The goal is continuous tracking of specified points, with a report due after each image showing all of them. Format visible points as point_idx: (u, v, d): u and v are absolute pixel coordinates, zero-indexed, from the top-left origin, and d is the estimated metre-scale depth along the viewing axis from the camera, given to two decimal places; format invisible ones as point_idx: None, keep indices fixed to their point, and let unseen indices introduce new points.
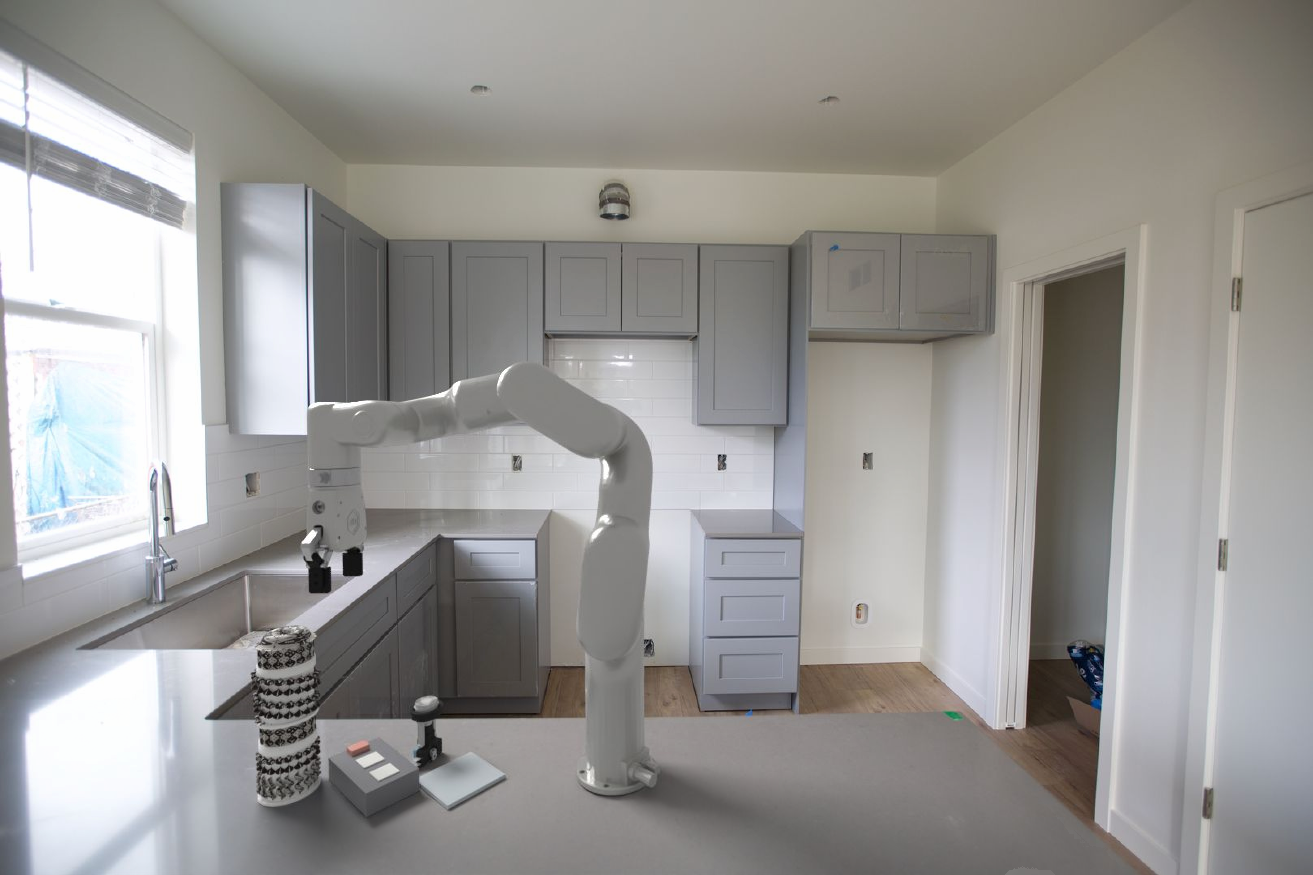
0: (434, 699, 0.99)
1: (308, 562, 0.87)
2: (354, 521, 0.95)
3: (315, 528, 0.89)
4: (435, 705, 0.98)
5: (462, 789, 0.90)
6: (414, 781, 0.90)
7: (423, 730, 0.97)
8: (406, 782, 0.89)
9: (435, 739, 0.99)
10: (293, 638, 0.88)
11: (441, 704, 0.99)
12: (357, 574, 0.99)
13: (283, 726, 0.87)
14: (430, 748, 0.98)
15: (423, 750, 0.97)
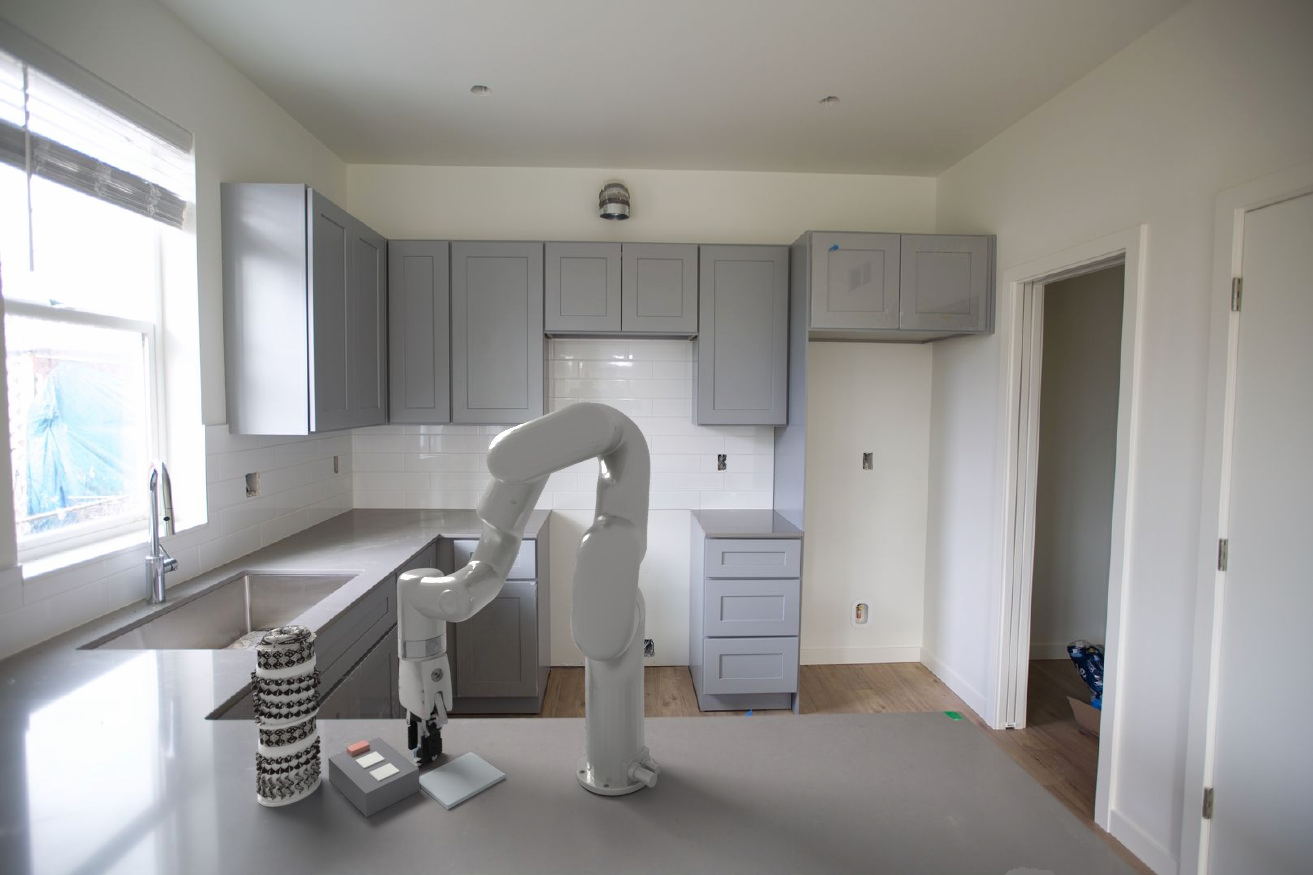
0: None
1: (434, 730, 0.95)
2: None
3: (436, 700, 0.95)
4: None
5: (462, 789, 0.90)
6: (414, 781, 0.90)
7: None
8: (406, 782, 0.89)
9: None
10: (293, 638, 0.88)
11: None
12: None
13: (283, 726, 0.87)
14: None
15: None
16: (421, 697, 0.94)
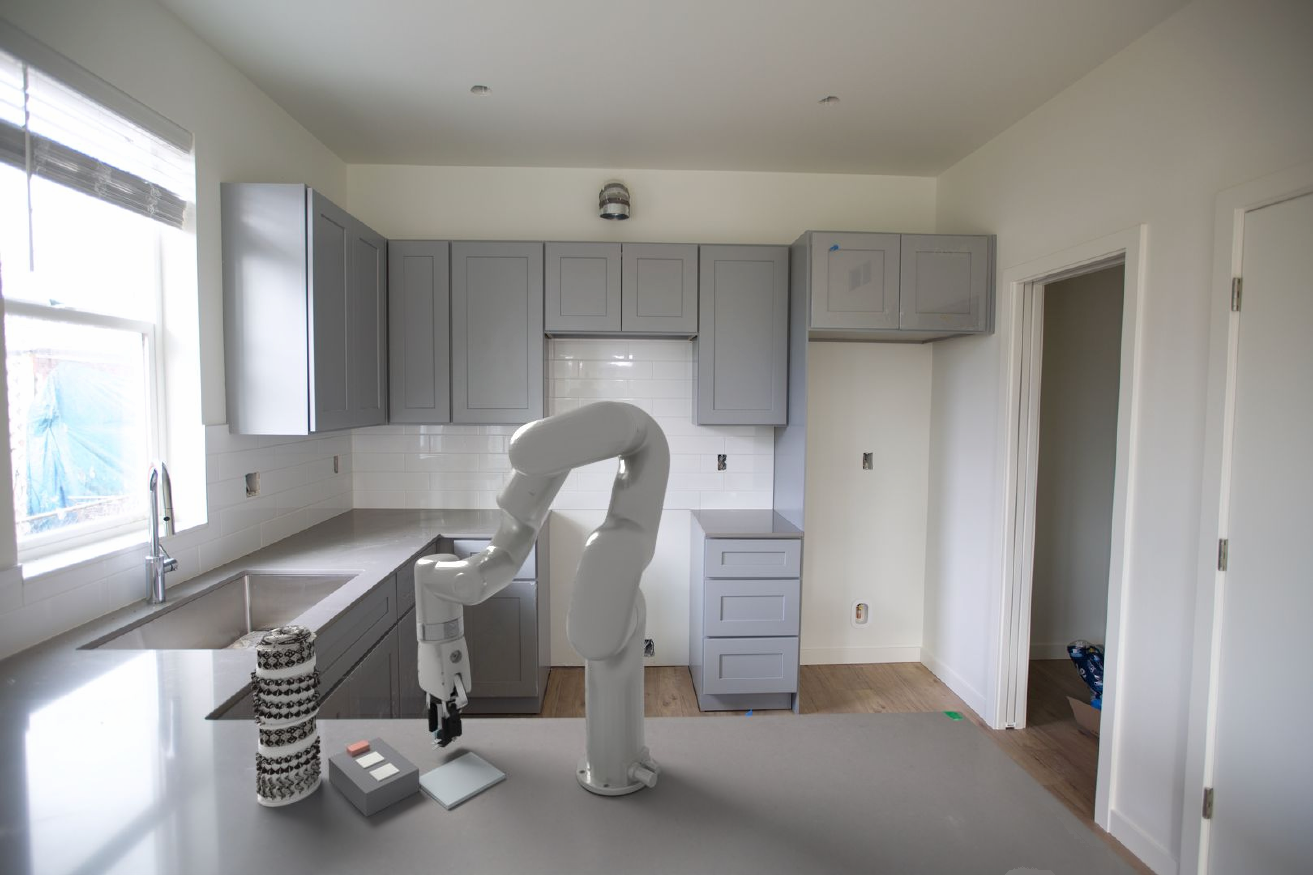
0: None
1: (454, 711, 0.97)
2: None
3: (456, 681, 0.97)
4: None
5: (462, 789, 0.90)
6: (414, 781, 0.90)
7: None
8: (406, 782, 0.89)
9: None
10: (293, 638, 0.88)
11: None
12: None
13: (283, 726, 0.87)
14: None
15: None
16: (441, 678, 0.96)
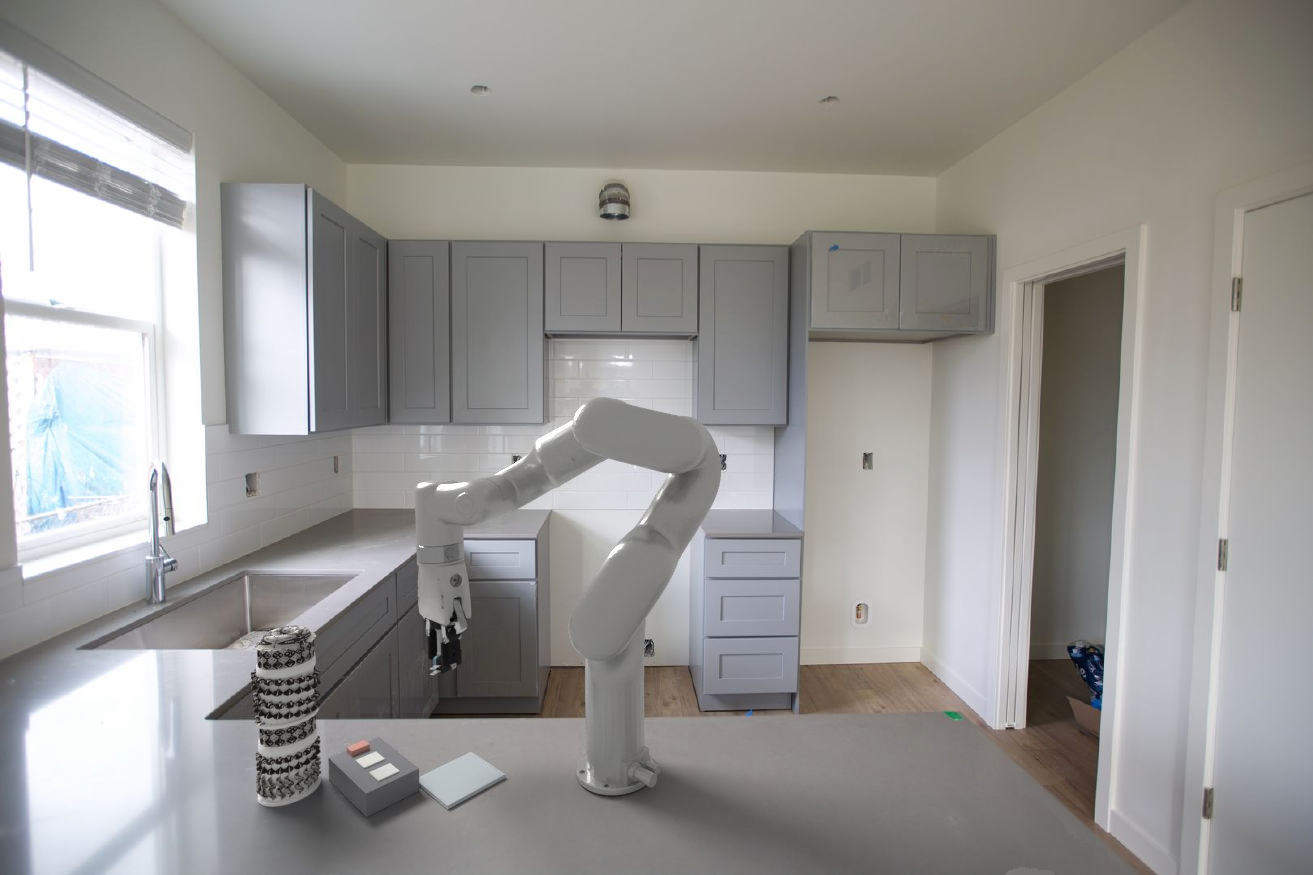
0: None
1: (453, 636, 0.95)
2: None
3: (455, 605, 0.95)
4: None
5: (462, 789, 0.90)
6: (414, 781, 0.90)
7: (442, 638, 0.98)
8: (406, 782, 0.89)
9: None
10: (293, 638, 0.88)
11: None
12: None
13: (283, 726, 0.87)
14: None
15: None
16: (440, 602, 0.95)
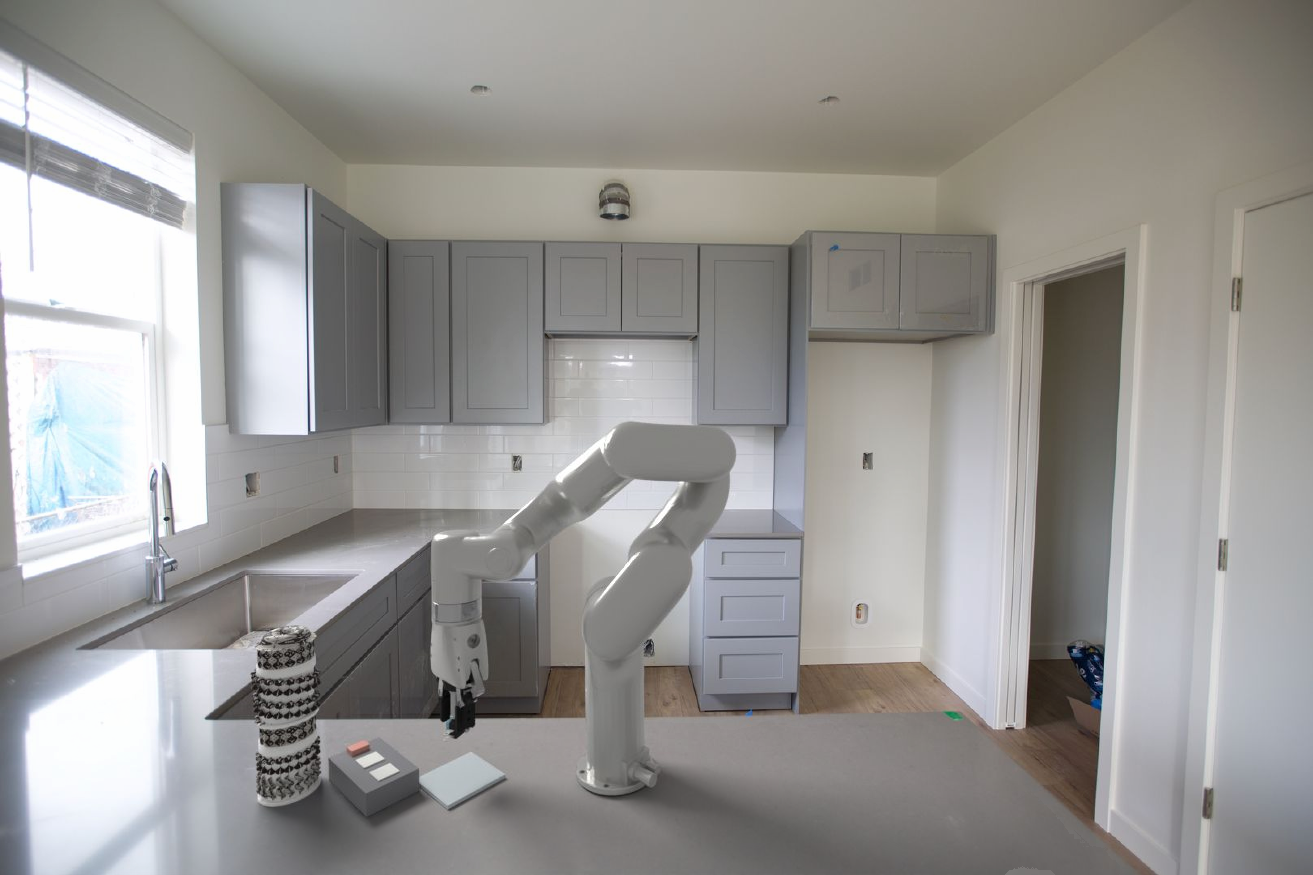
0: None
1: (469, 700, 0.89)
2: None
3: (472, 668, 0.89)
4: None
5: (462, 789, 0.90)
6: (414, 781, 0.90)
7: (456, 700, 0.92)
8: (406, 782, 0.89)
9: None
10: (293, 638, 0.88)
11: None
12: None
13: (283, 726, 0.87)
14: None
15: None
16: (456, 664, 0.88)
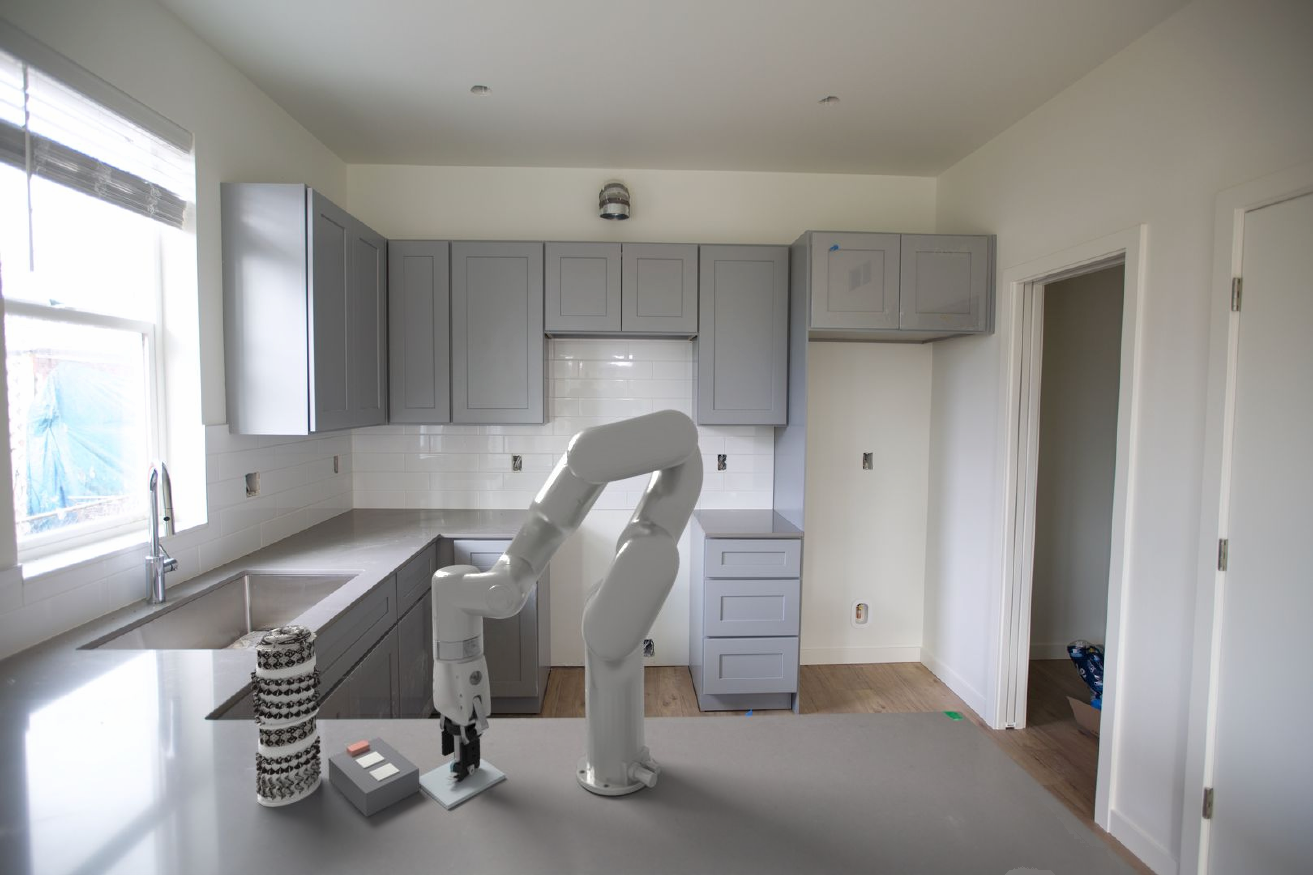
0: None
1: (474, 737, 0.89)
2: None
3: (475, 704, 0.89)
4: (472, 717, 0.92)
5: (462, 789, 0.90)
6: (414, 781, 0.90)
7: None
8: (406, 782, 0.89)
9: None
10: (293, 638, 0.88)
11: None
12: None
13: (283, 726, 0.87)
14: None
15: None
16: (459, 702, 0.88)
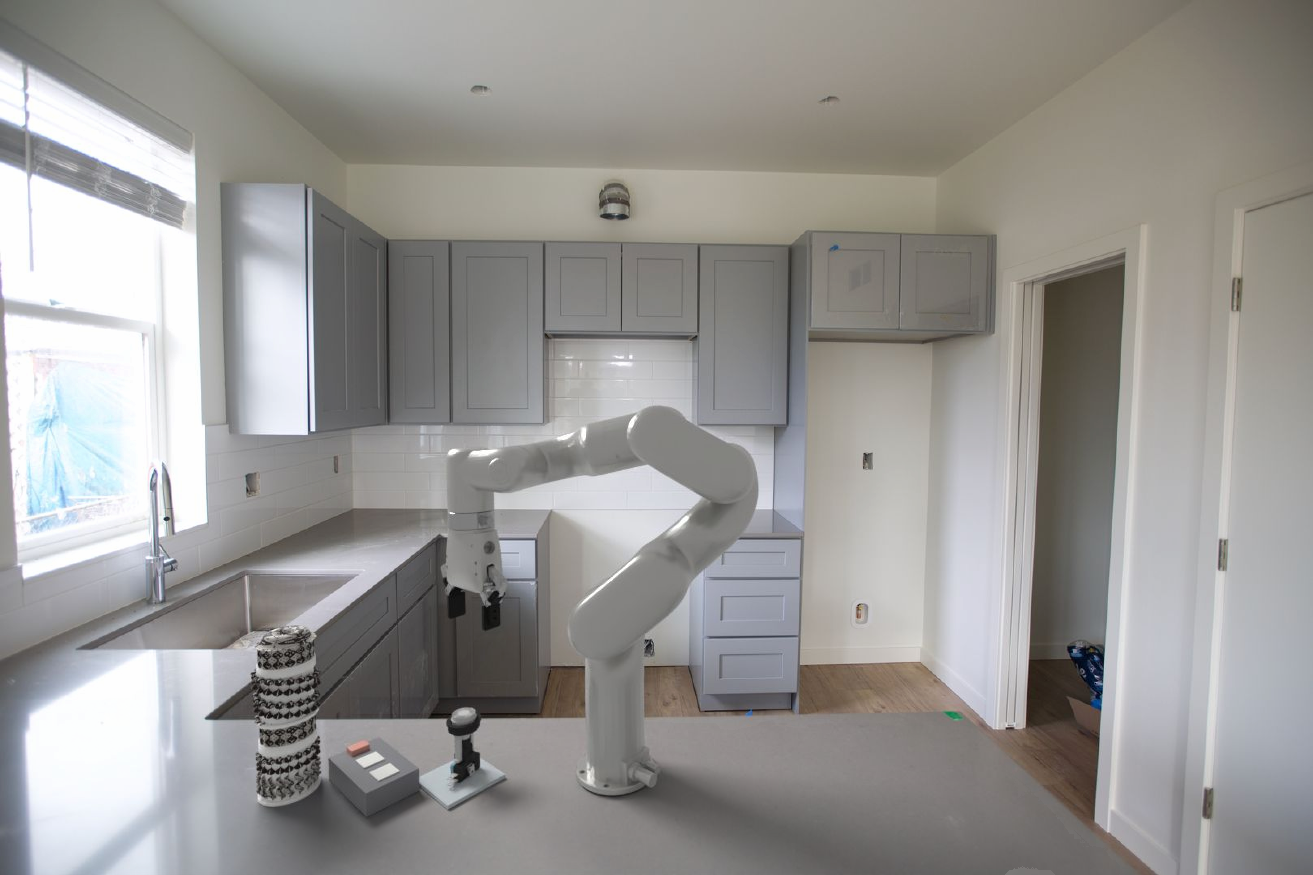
0: (472, 711, 0.93)
1: (496, 599, 0.93)
2: None
3: (490, 567, 0.94)
4: (473, 718, 0.93)
5: (462, 789, 0.90)
6: (414, 781, 0.90)
7: (460, 744, 0.92)
8: (406, 782, 0.89)
9: (473, 754, 0.93)
10: (293, 638, 0.88)
11: (479, 717, 0.94)
12: (463, 613, 1.02)
13: (283, 726, 0.87)
14: (468, 763, 0.92)
15: (460, 765, 0.91)
16: (474, 569, 0.94)
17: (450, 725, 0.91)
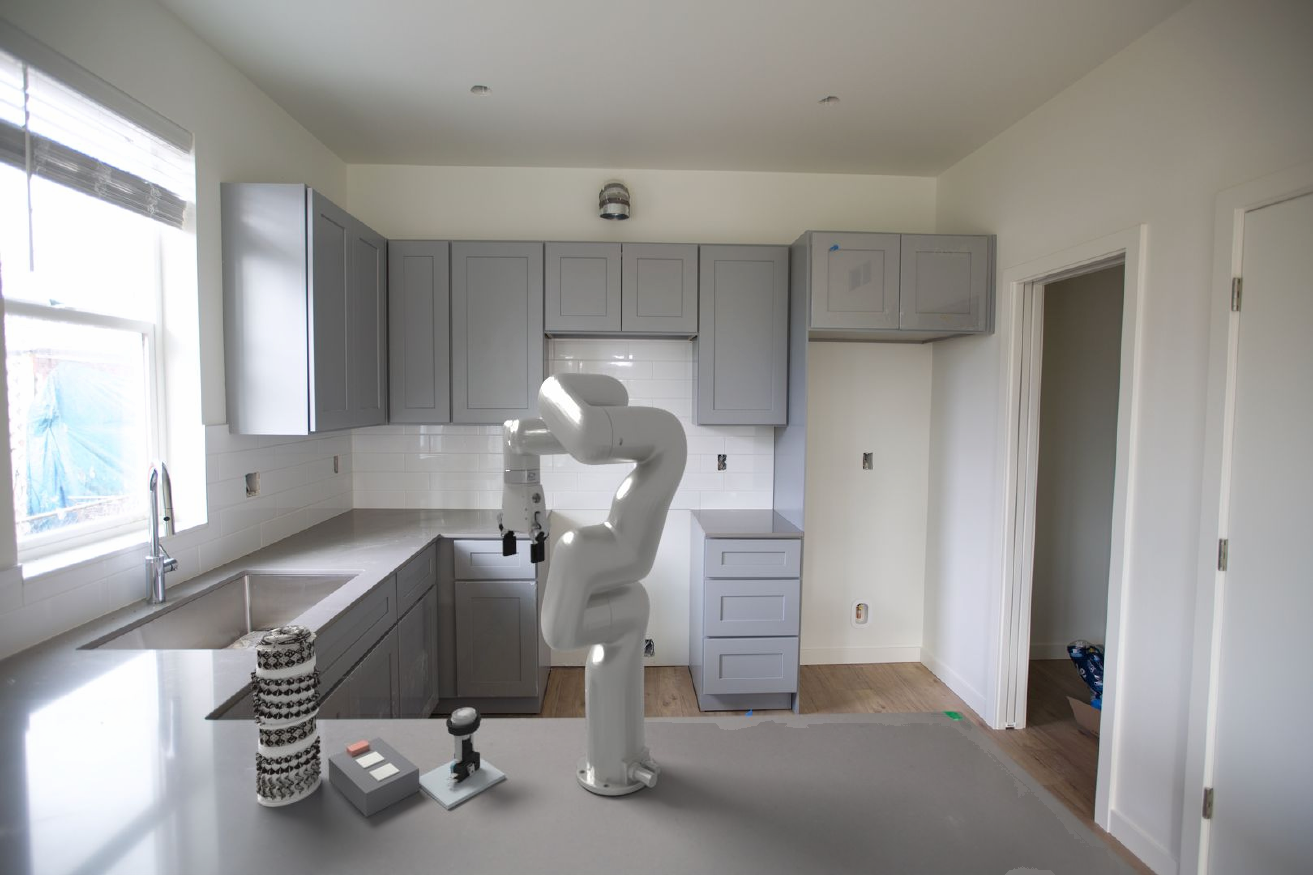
0: (472, 711, 0.93)
1: (541, 538, 1.18)
2: None
3: (537, 513, 1.19)
4: (473, 718, 0.93)
5: (462, 789, 0.90)
6: (414, 781, 0.90)
7: (460, 744, 0.92)
8: (406, 782, 0.89)
9: (473, 754, 0.93)
10: (293, 638, 0.88)
11: (479, 717, 0.94)
12: (514, 553, 1.26)
13: (283, 726, 0.87)
14: (468, 763, 0.92)
15: (460, 765, 0.91)
16: (524, 514, 1.18)
17: (450, 725, 0.91)
